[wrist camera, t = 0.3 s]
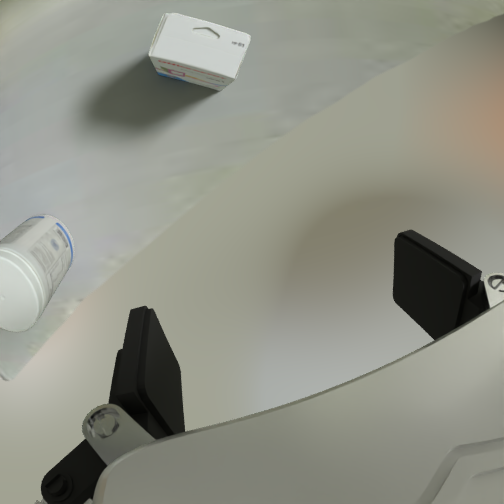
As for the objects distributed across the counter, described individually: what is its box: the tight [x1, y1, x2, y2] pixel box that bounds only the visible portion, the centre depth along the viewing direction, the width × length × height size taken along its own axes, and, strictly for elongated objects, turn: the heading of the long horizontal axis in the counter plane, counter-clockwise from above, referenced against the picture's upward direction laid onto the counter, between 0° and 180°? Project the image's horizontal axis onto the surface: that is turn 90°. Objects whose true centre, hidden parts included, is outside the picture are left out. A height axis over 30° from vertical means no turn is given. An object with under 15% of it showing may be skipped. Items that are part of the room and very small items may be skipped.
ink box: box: [148, 13, 251, 91], centre depth 27 cm, size 9×5×12 cm, turn 72°
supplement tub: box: [0, 215, 74, 332], centre depth 30 cm, size 10×10×15 cm
